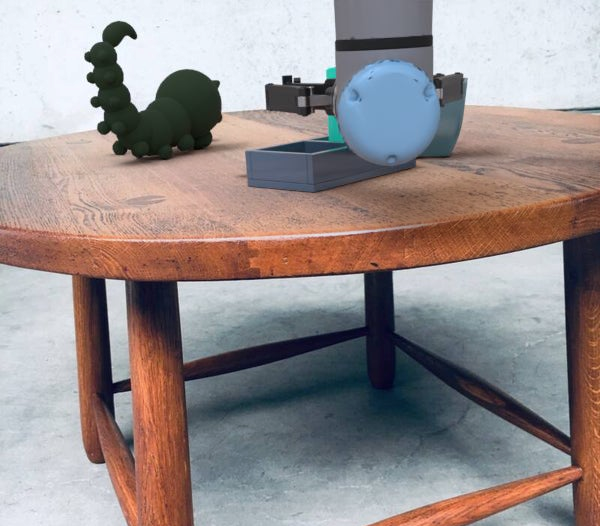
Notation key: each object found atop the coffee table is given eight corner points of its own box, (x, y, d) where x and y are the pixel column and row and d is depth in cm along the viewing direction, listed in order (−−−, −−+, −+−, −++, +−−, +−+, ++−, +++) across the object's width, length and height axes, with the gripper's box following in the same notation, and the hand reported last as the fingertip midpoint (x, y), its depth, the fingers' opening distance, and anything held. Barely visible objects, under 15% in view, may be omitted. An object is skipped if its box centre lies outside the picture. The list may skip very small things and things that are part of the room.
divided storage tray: (416, 167, 105) (415, 133, 104) (314, 192, 92) (312, 154, 91) (351, 162, 111) (350, 130, 110) (247, 186, 98) (244, 150, 97)
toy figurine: (142, 181, 117) (251, 139, 135) (114, 24, 109) (235, 2, 127) (90, 178, 122) (202, 137, 140) (59, 28, 113) (183, 6, 132)
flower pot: (466, 149, 117) (467, 76, 113) (465, 159, 109) (467, 80, 105) (398, 151, 118) (397, 79, 115) (393, 161, 110) (392, 83, 107)
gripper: (237, 153, 81) (248, 128, 101) (514, 137, 81) (471, 116, 100) (230, 64, 78) (243, 57, 98) (517, 48, 78) (472, 44, 98)
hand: (359, 87), depth 99 cm, fingers open, 13 cm apart
